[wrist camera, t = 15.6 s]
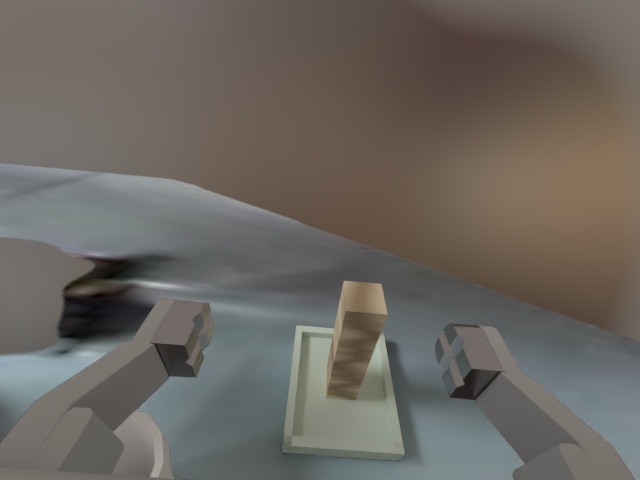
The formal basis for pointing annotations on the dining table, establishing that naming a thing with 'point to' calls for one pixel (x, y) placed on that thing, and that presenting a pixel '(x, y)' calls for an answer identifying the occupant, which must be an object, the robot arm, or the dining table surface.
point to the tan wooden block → (354, 338)
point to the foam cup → (142, 448)
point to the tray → (339, 405)
